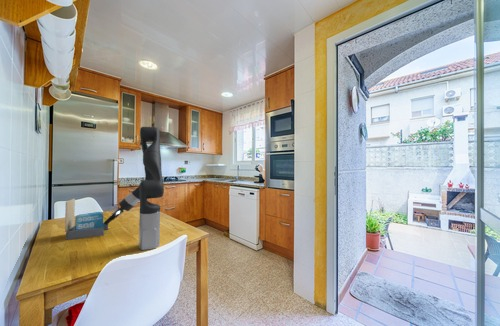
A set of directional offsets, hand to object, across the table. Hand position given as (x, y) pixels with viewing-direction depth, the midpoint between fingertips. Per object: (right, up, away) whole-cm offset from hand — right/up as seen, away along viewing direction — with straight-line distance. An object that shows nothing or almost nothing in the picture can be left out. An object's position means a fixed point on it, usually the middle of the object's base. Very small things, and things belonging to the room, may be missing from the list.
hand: (105, 223), depth 111 cm
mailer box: (-7, -5, -3) cm, 9 cm away
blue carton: (-7, -6, -3) cm, 9 cm away
